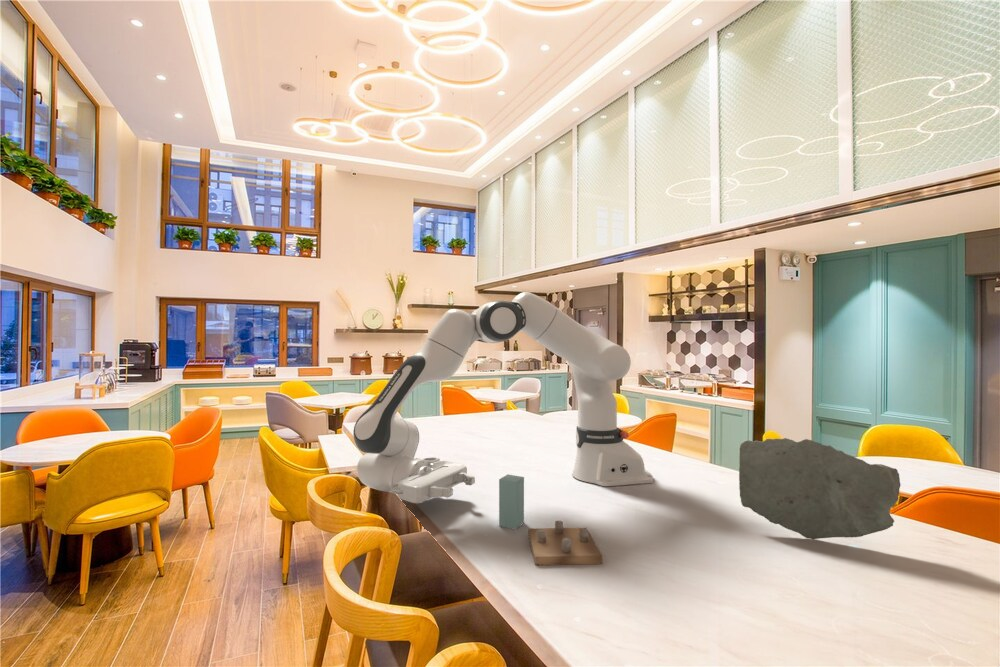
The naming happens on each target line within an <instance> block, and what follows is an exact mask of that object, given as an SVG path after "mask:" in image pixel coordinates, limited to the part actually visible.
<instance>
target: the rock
mask: <svg viewBox="0 0 1000 667" xmlns="http://www.w3.org/2000/svg"><path fill="white" fill-rule="evenodd" d="M739 446H740V447H739V459H738V460H739V462H738V464H739V465H738V466H739V467H738V471H739V473H738V481H739V485H738V487H739V488H738V489H739V498H740V503H741V505H742V507H744V508H748V509H750V510H751V511H752V512H754V513H755V514H757V515H759V516H762V517H763V518H765V520H768V521H769V522H770V523H772V524H774V525H779V526H781V527H782V528H785V529H787V530H789V531H791V532H795V533H797V534H800V535H801V536H802V537H804V538H806V539H809V540H820V539H828V538H829V539H830V538H861V537H864V536H867V535H872V534H875V533H879V532H883V531H886V530H888V529H890V528H891V527H893V526H894V523H895V520H894V518H893V517H892V515H891V513H890V512H891V509H892V508H893V507H894V506H895V505H896V504H897V503H898V501H899V496H900V489H901V486H902V485H901V484H902V483H901V480H900V473H899V472H898V471H899V470H898V469H897V468H893V467H890V466H888V465H885V464H882V463H880V464H878V463H874V464H871V463H868V462H866V461H865V460H863V459H860V458H857V457H856V456H853V455H850V454H848V453H845V452H844V451H843V450H839V449H836V448H834V447H833V446H831V445H827V444H826V445H825V444H822V443H821V442H817V441H814V440H812V439H807V438H804V439H803V440H800V441H795V440H793V439H790V438H787V437H784V438H766V439H764V440H763V441H759V440H757V439H755V440H754V441H753V440H745V441H743V442H742V443H740V445H739Z"/></svg>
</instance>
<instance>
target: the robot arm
mask: <svg viewBox="0 0 1000 667" xmlns="http://www.w3.org/2000/svg"><path fill="white" fill-rule="evenodd" d="M519 332H522V333H524V334H526V335H527V336H529V337H530V338H531V339H532V340H533V341H535V342H536V343H538V344H540V346H542V347H543V348H545V349H547V350H548V351H550V352H551V353H552V354H554V355H556V356H558V357H560V358H561V359H563V360H564V361H567V364H568V366H569V368H570V370H571V372H572V377H573V382H574V386H575V392H576V398H577V400H576V401H577V426H576V431H575V444H576V447H577V448H576V456H575V462H574V467H573V469H572V475H571V476H572V477H573V478H575V479H577V480H579V481H583V482H586V483H591V484H595V485H599V486H602V487H614V486H626V485H639V484H651V483H653V482H654V476H653V474H652V473H651V472H650V471H649V470H647V469H646V468H645V463H644V459H643V457H642V455H641V454H640V453H639V451H637V450H635V449H634V448H632V446H631V445H629V444H628V443H627V442H625V441H624V440H627V439H628V438H629V437H630V433H629V432H627V431H626V430H623V429H620V428H619V427H618V426H617V424H618V420H617V419H618V416H617V415H618V411H617V408H618V403H617V402H618V401H617V399H616V396H615V395H614V393H613V391H612V390H613V389H612V388H611V384H610V383H611V382H613V381H617V380H620V379H622V378H624V377H625V376H626V375H627V374H628V372H629V371H630V369H631V365H632V364H631V363H632V362H631V356H630V353H629V352H628V350H626V348H624V347H623V346H622V345H620V344H617V343H615V342H613V341H611V340H609V339H608V338H606V337H604V336H603V335H602V334H599V333H598V332H596V331H594V330H592V329H591V328H588V327H586V326H584V325H582V324H581V323H579V322H578V321H577V320H575V319H573V318H572V317H571V316H569V315H567V314H566V313H565V312H564V311H562V310H561V309H559V308H558V307H557V306H555V305H554V304H552V303H551V302H549V301H548V300H546V299H544V298H543V297H541V296H538V295H537V294H534V293H532V292H529V291H523V292H521V293H519V294H517V295H515V297H514V298H513V299H512V300H511V301H506V300H495V301H491V302H487V303H484V304H483V305H481V306H480V307H478V308H476V309H474V310H473V311H471V312H469V313H468V312H467V311H465V310H462V309H457V308H451V309H449V310H447V311H446V312H444V313H443V315H442V316H441V318H439V319H438V321H437V323H436V324H435V326H434V327H433V328H432V329H431V331H430V333H429V334H428V336H427V338H426V340H425V341H424V342H423V345H422V346H421V347H420V348H419V350H418V351H417V352H416V353H414V355H411V356H409V357H408V358H406V359H405V360H404V362H402V364H401V365H400V366H399V367H398V369H397V370H396V371H395V373H393V375H392V376H391V378H390V379H389V381H388V382H387V384H386V385H385V386H384V387H383V389H382V390H381V392H380V393H379V395H378V396H377V397H376V399H375V400H374V401H373V402H372V404H370V406H369V407H368V408H367V409H366V410H365V411H363V412H362V414H361V415H360V416H359V417H358V418H357V420H356V422H355V424H354V427H353V441H354V443H355V445H356V447H357V448H358V450H359V451H361V452H362V453H365V454H363V455H362V456H360V458H359V460H358V462H357V466H356V473H357V477H358V479H359V481H360V482H361V483H362V484H363V485H365V486H366V487H368V488H371V489H374V490H377V491H381V492H384V493H385V492H387V493H390V494H394V495H397V498H398V499H399V500H403V501H405V502H408V503H412V504H423V503H424V502H426V501H428V500H430V499H432V498H442V497H443V498H451V497H452V496H453V495H454V489H453V487H456V486H457V485H459V484H461V483H462V484H463V483H464V484H465V485H467V486H472V485H474V484H476V478H475V476H474V475H473V476H472V475H469V474H468V468H467V466H466V465H464V464H463V463H458V462H453V461H450V460H440V457H437V456H436V457H435V456H433V457H426V458H417V457H416V458H415V456H416V453H417V449H418V446H419V443H420V433H419V430H418V427H417V425H416V424H414V423H413V422H411V421H408V420H405V419H403V418H399V417H397V416H396V415H397V413H398V411H399V410H400V409H401V407H402V406H403V404H404V403H405V402H406V400H407V399H408V398H409V396H410V394H411V393H412V392H413V391H414V390H415V389H416V388H417V387H419V386H421V385H422V384H426V383H432V382H433V383H434V382H435V383H437V382H442V381H443V382H444V381H446V380H449V379H450V378H452V377H453V376H454V375H455V374H456V373H457V371H458V370H459V368H460V367H461V365H462V362H463V361H464V360H465V358H466V355H467V353H468V351H469V349H470V348H471V347H472V345H473V344H475V343H476V342H481V343H487V344H488V343H489V344H497V343H501V342H505V341H506V342H507V341H509V340H510V339H512V338H513V337H514V336H516V335H517V334H518V333H519Z"/></svg>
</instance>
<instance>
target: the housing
mask: <svg viewBox="0 0 1000 667" xmlns="http://www.w3.org/2000/svg"><path fill="white" fill-rule="evenodd" d="M554 523H555V524H554V527H551V528H548V527H547V528H546V527H545V528H528V531H527V532H528V533H527V535H528V536H529V537H528V541H529V540H530V541H529V545H530V544H531V545H530V550H531V549H532V550H531V552H532V553H533V554H532V557H534V558H533V562H534V565H535V566H547V565H546V564H549V565H548V566H550V564H552V565H553V566H554V565H556V566H557V565H558V564H560V565H561V564H562V565H594V564H595V565H597V564H600V565H602V564H603V555H602V553H601V551H600V549H599V548H598V545H597V544H596V542H595V540H594V538H593V537H592V535H591V533H590V531H589V529H588V527H564V521H562V520H555V522H554ZM537 564H539V565H537ZM542 564H543V565H542ZM552 565H551V566H552ZM560 565H559V566H560Z"/></svg>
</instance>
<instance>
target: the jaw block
mask: <svg viewBox="0 0 1000 667" xmlns="http://www.w3.org/2000/svg"><path fill="white" fill-rule="evenodd" d="M498 485H499V486H498V490H499V491H498V493H499V494H498V505H499V506H498V512H499V513H498V517H499V518H498V524H499V525H498V526H499V527H501V526H502V527H503V528H506V527H507V529H511V528H513V529H512V530H515V529H516V530H517V529H519V528H520V527H521V526H522V525H523V524H524V523H525V477H524V476H520V475H514V474H506V475H505V476H502V477H500V478H499V480H498ZM522 523H523V524H522ZM521 524H522V525H521ZM520 525H521V526H520ZM519 526H520V527H519ZM518 527H519V528H518Z"/></svg>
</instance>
